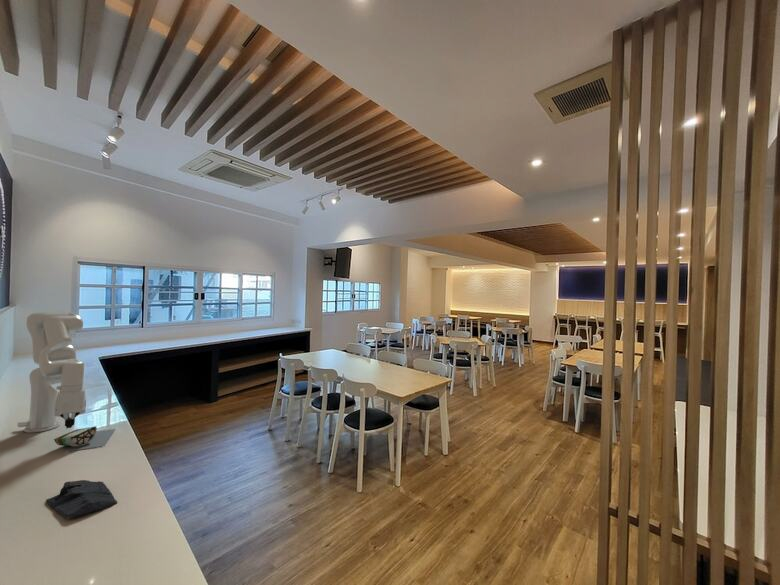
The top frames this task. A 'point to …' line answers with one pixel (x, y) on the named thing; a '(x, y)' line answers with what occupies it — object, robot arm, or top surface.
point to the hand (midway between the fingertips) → (69, 427)
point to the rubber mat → (95, 440)
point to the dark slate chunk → (81, 498)
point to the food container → (77, 437)
